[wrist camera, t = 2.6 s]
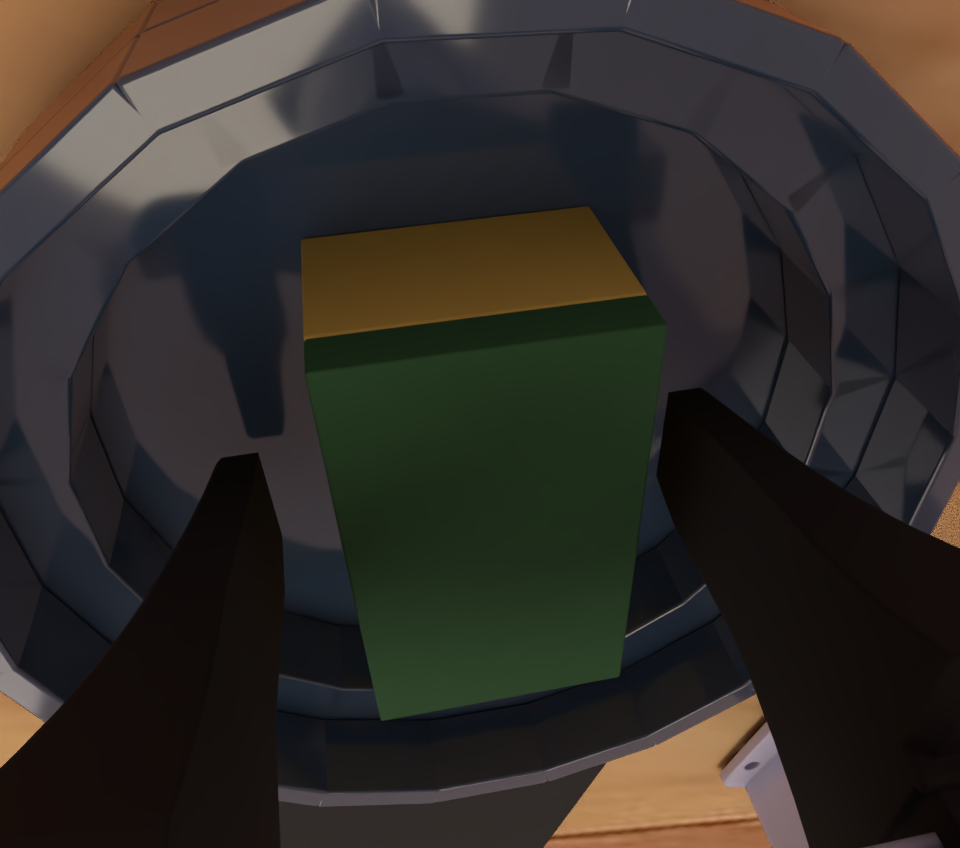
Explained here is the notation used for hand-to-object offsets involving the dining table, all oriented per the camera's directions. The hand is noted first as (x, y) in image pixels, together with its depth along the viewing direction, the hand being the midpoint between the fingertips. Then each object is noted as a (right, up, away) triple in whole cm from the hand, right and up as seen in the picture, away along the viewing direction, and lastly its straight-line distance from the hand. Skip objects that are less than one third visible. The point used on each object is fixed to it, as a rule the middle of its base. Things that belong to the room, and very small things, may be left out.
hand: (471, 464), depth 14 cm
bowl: (0, +1, +1) cm, 2 cm away
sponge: (0, +1, +1) cm, 1 cm away
